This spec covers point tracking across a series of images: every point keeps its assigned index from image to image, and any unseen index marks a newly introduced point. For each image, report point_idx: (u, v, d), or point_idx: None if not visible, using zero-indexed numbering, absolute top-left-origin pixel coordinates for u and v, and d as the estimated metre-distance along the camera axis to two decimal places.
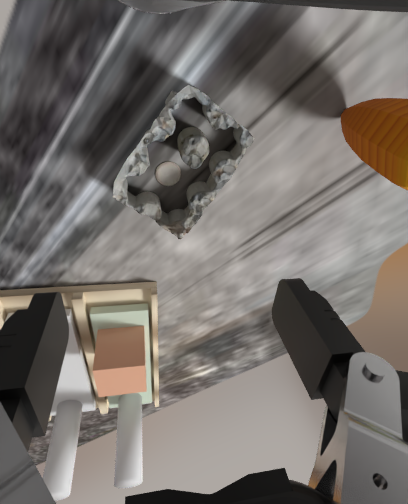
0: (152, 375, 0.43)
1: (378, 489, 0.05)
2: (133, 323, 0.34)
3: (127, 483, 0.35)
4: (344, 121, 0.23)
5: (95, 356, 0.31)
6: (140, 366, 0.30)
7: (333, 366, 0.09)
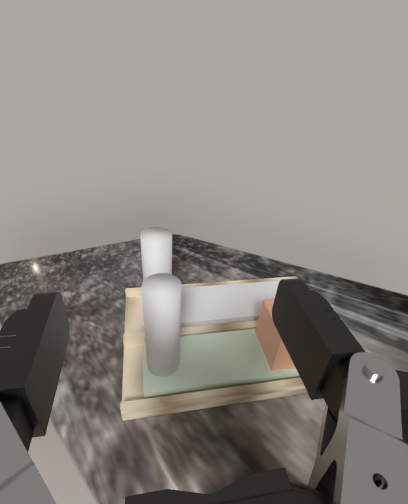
0: None
1: (378, 489, 0.05)
2: None
3: (159, 284, 0.25)
4: None
5: None
6: None
7: (333, 366, 0.09)
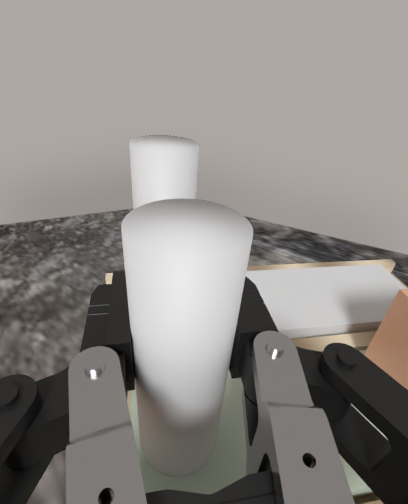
0: None
1: (310, 469, 0.05)
2: None
3: (181, 222, 0.08)
4: None
5: None
6: None
7: (245, 345, 0.09)
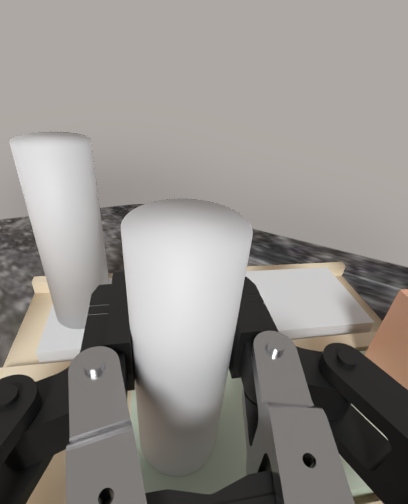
0: None
1: (310, 469, 0.06)
2: None
3: (181, 222, 0.08)
4: None
5: None
6: None
7: (245, 345, 0.09)
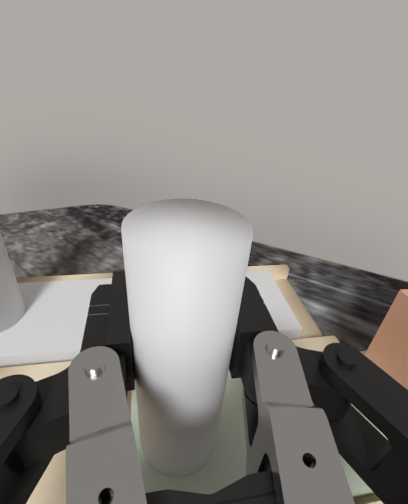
0: None
1: (310, 469, 0.05)
2: None
3: (181, 222, 0.08)
4: None
5: None
6: None
7: (245, 345, 0.09)
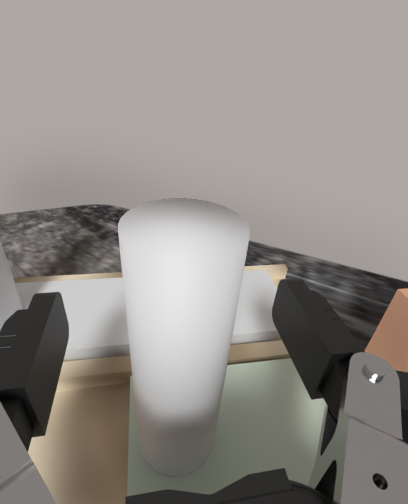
0: None
1: (378, 489, 0.05)
2: None
3: (178, 222, 0.08)
4: None
5: None
6: None
7: (333, 366, 0.09)
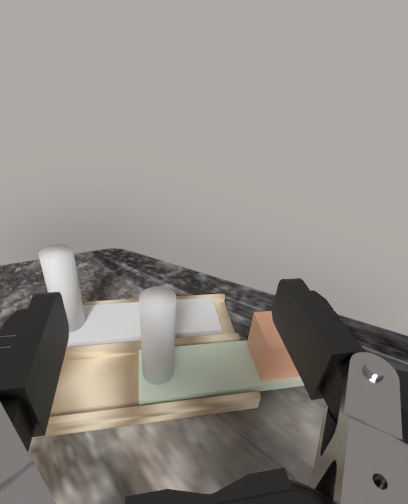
0: None
1: (378, 489, 0.05)
2: None
3: (156, 297, 0.27)
4: None
5: None
6: None
7: (333, 366, 0.09)
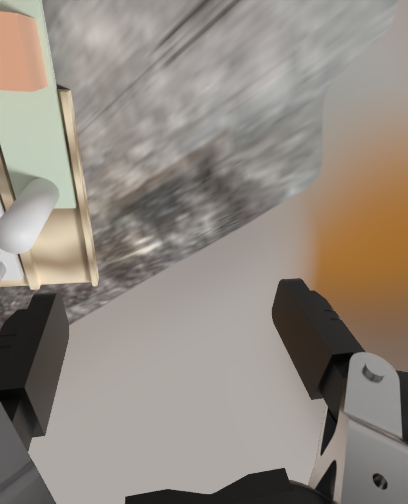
0: (84, 238, 0.39)
1: (378, 489, 0.05)
2: (19, 9, 0.25)
3: (11, 239, 0.25)
4: None
5: None
6: (9, 14, 0.22)
7: (333, 366, 0.09)
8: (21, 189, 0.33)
